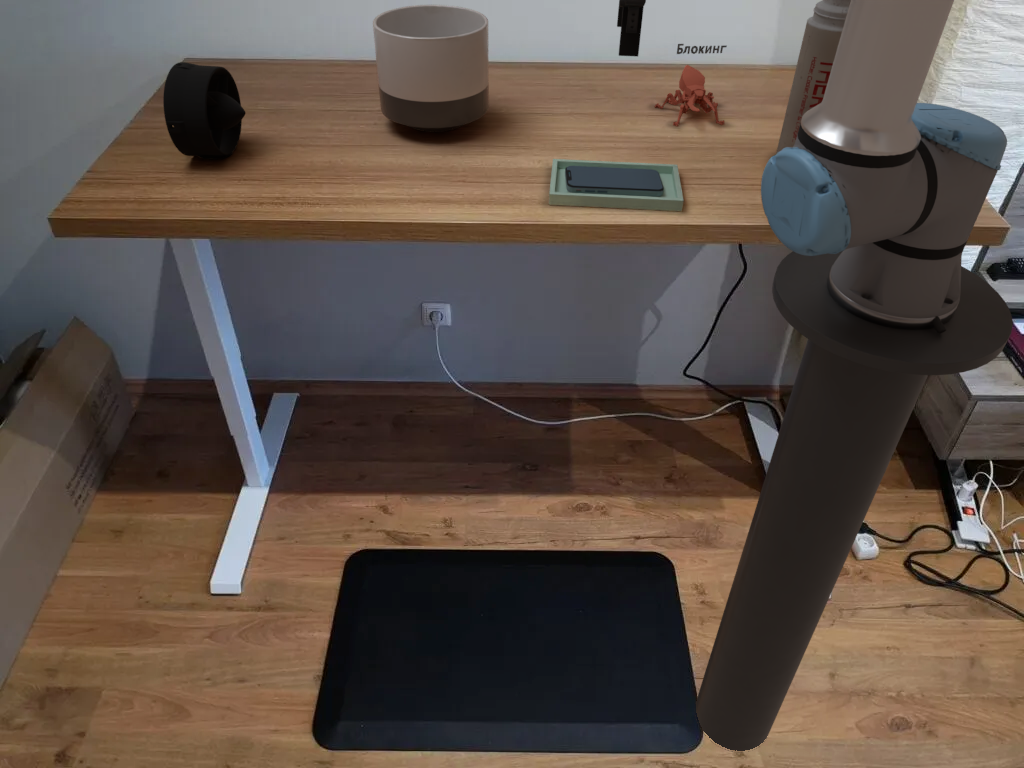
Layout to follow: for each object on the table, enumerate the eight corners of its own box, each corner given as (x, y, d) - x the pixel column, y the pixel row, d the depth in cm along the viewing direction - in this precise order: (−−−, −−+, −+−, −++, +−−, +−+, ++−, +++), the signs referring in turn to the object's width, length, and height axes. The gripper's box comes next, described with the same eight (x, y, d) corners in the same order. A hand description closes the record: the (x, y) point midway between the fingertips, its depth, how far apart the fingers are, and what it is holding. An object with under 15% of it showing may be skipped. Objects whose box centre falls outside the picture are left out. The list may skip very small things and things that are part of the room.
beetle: (650, 101, 155) (659, 33, 147) (713, 100, 156) (724, 32, 148) (669, 132, 144) (680, 60, 136) (736, 130, 145) (751, 59, 137)
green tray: (681, 211, 121) (683, 200, 120) (548, 204, 122) (549, 193, 121) (675, 174, 131) (677, 164, 129) (552, 168, 132) (552, 158, 131)
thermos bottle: (819, 177, 130) (870, -9, 112) (770, 167, 133) (812, -16, 115) (827, 158, 136) (877, -22, 118) (779, 149, 139) (821, -28, 121)
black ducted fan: (218, 83, 119) (153, 80, 120) (238, 174, 129) (178, 171, 129) (251, 52, 130) (192, 49, 131) (268, 138, 140) (212, 135, 140)
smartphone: (665, 190, 122) (567, 185, 122) (663, 200, 123) (566, 195, 123) (658, 168, 128) (565, 164, 128) (656, 178, 129) (564, 174, 129)
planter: (361, 132, 142) (349, 27, 131) (416, 97, 156) (410, -2, 144) (457, 153, 136) (454, 44, 125) (506, 114, 149) (507, 13, 138)
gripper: (680, -114, 94) (657, 70, 108) (667, -143, 113) (648, 16, 127) (616, -116, 95) (601, 67, 108) (613, -145, 114) (601, 14, 127)
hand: (627, 40), depth 118 cm, fingers open, 13 cm apart
